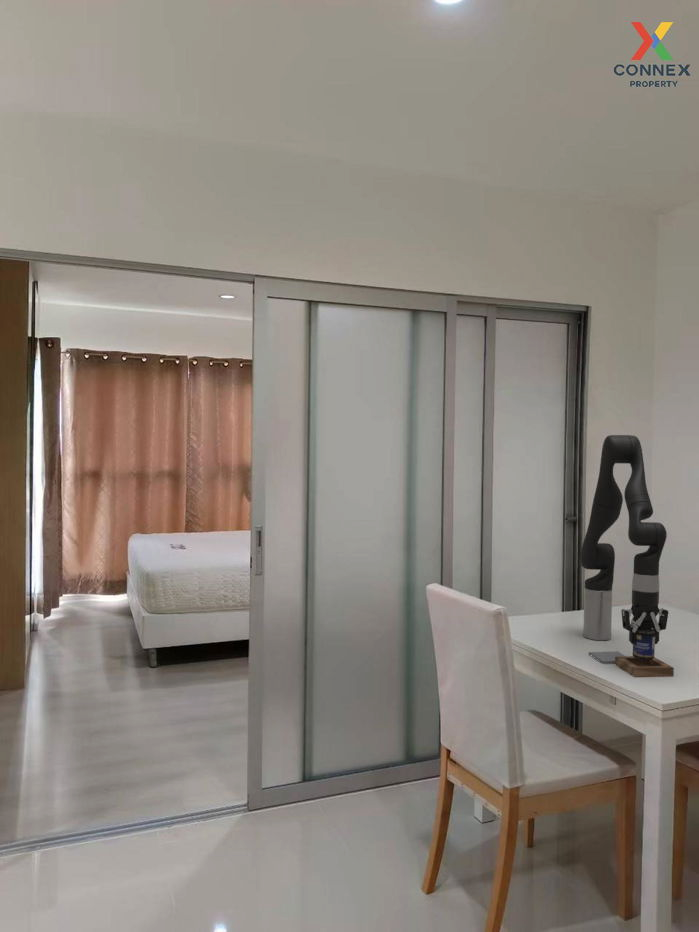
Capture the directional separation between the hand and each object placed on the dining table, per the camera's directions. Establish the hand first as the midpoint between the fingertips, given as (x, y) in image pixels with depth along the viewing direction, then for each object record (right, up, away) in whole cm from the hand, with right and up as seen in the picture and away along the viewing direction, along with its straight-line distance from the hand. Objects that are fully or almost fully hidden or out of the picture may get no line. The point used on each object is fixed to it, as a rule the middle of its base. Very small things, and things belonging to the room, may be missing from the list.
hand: (643, 643), depth 216 cm
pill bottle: (0, -4, 0) cm, 4 cm away
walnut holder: (0, -8, 0) cm, 8 cm away
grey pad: (-6, -8, +11) cm, 15 cm away
